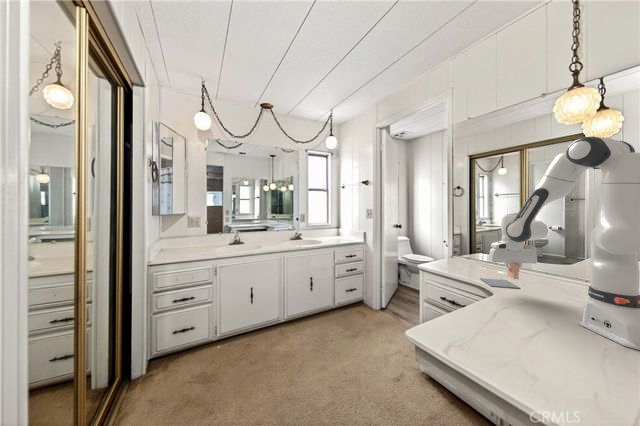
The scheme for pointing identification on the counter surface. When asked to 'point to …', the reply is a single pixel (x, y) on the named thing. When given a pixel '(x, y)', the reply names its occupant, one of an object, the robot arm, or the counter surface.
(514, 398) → the counter surface
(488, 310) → the counter surface
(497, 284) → the mat
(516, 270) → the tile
